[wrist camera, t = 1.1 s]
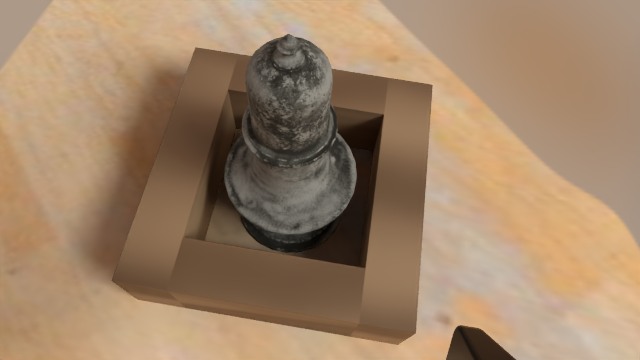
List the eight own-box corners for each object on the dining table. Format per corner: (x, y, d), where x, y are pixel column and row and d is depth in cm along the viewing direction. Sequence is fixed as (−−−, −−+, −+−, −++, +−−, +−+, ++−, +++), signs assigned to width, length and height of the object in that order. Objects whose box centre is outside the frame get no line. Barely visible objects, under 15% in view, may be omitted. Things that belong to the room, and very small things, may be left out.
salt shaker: (214, 235, 23) (143, 82, 13) (260, 138, 26) (235, -58, 15) (327, 275, 23) (356, 152, 12) (363, 172, 25) (414, -7, 14)
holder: (397, 344, 21) (415, 333, 18) (138, 299, 22) (111, 280, 19) (416, 123, 27) (432, 85, 24) (207, 89, 27) (195, 47, 24)
